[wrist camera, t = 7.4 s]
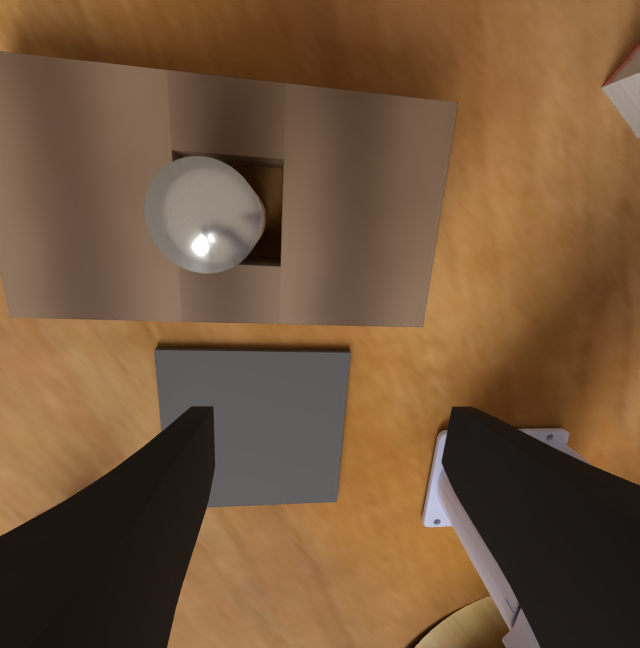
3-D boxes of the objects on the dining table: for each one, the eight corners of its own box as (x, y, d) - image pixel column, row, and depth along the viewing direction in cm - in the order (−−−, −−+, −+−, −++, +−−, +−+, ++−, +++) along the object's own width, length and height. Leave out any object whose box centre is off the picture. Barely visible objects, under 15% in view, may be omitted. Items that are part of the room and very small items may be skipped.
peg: (267, 187, 18) (259, 160, 9) (267, 248, 18) (260, 274, 10) (205, 184, 17) (137, 152, 9) (209, 246, 18) (150, 271, 10)
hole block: (429, 120, 17) (458, 102, 15) (402, 311, 20) (422, 327, 18) (13, 77, 15) (-49, 45, 12) (51, 301, 18) (9, 317, 15)
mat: (349, 350, 21) (350, 352, 20) (335, 497, 24) (336, 501, 24) (156, 347, 19) (154, 350, 19) (170, 503, 23) (168, 508, 22)
